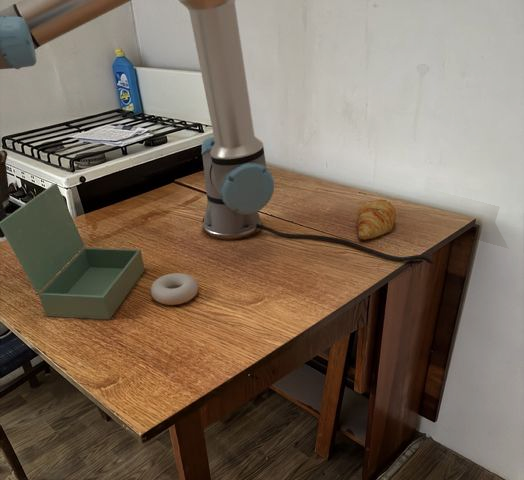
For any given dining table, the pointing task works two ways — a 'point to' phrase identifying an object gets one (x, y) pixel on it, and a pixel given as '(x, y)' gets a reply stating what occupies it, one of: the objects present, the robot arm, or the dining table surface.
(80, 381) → the dining table surface
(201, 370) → the dining table surface
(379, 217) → the croissant
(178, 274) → the donut
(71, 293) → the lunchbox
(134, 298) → the dining table surface
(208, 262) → the dining table surface
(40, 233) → the green box lid
